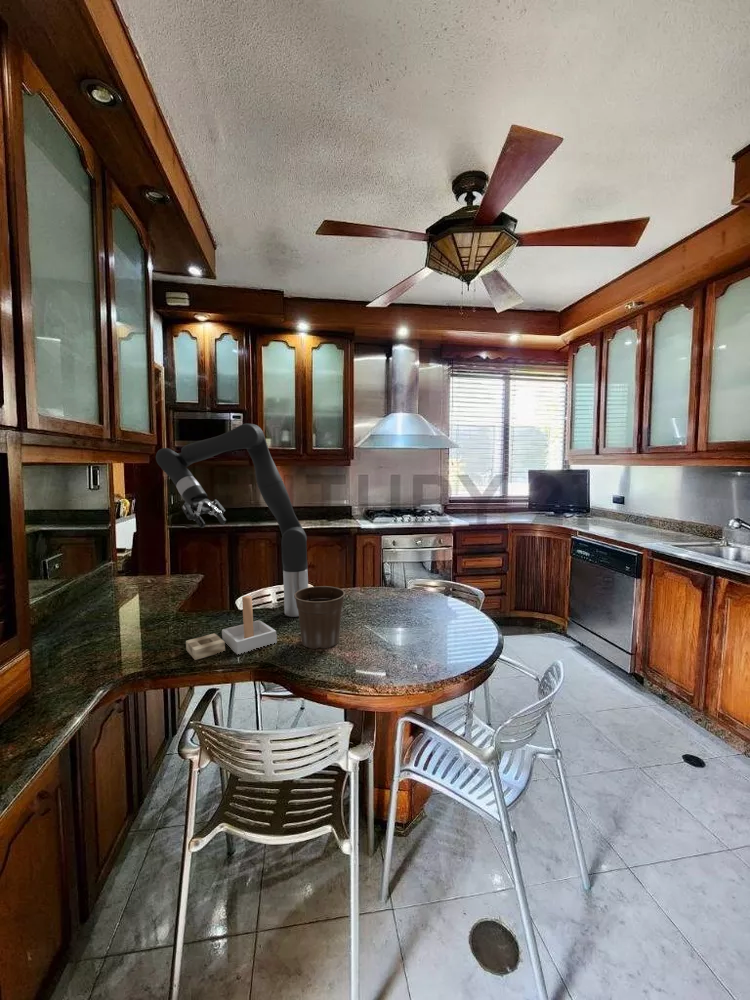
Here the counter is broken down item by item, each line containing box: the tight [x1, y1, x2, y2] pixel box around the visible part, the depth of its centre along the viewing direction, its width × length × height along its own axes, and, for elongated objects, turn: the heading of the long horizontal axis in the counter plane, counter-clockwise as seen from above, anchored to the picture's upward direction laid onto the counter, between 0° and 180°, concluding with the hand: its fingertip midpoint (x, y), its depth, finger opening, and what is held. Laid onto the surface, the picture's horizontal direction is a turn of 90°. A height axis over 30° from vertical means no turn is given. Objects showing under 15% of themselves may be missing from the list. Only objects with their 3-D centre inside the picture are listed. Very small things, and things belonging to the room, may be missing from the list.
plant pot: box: [294, 585, 346, 650], centre depth 139 cm, size 16×16×16 cm
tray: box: [221, 619, 278, 656], centre depth 140 cm, size 13×13×4 cm
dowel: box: [241, 595, 254, 639], centre depth 140 cm, size 3×3×14 cm
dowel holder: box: [185, 633, 226, 661], centre depth 134 cm, size 9×9×3 cm
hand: (214, 524), depth 152 cm, fingers open, 8 cm apart
